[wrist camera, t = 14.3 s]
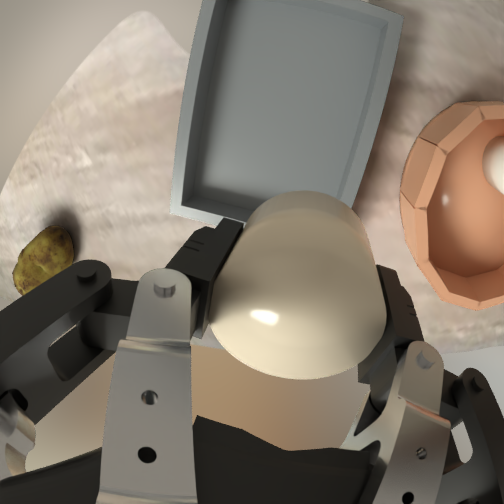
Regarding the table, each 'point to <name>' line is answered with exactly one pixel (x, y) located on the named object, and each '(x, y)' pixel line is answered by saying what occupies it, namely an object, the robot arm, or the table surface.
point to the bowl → (456, 206)
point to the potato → (43, 258)
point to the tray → (280, 102)
